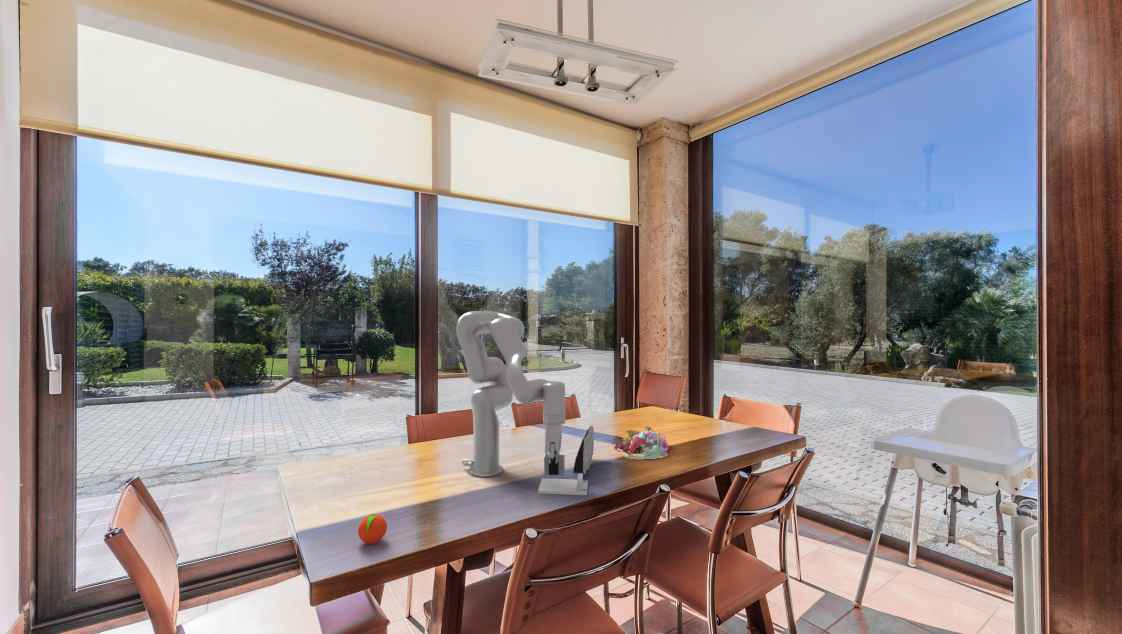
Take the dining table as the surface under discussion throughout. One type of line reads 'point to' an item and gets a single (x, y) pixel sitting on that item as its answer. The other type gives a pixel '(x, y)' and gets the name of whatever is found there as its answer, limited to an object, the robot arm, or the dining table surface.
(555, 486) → the plate
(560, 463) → the module
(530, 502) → the dining table surface
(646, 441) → the candy landscape model
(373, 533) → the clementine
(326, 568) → the dining table surface
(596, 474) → the dining table surface
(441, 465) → the dining table surface
